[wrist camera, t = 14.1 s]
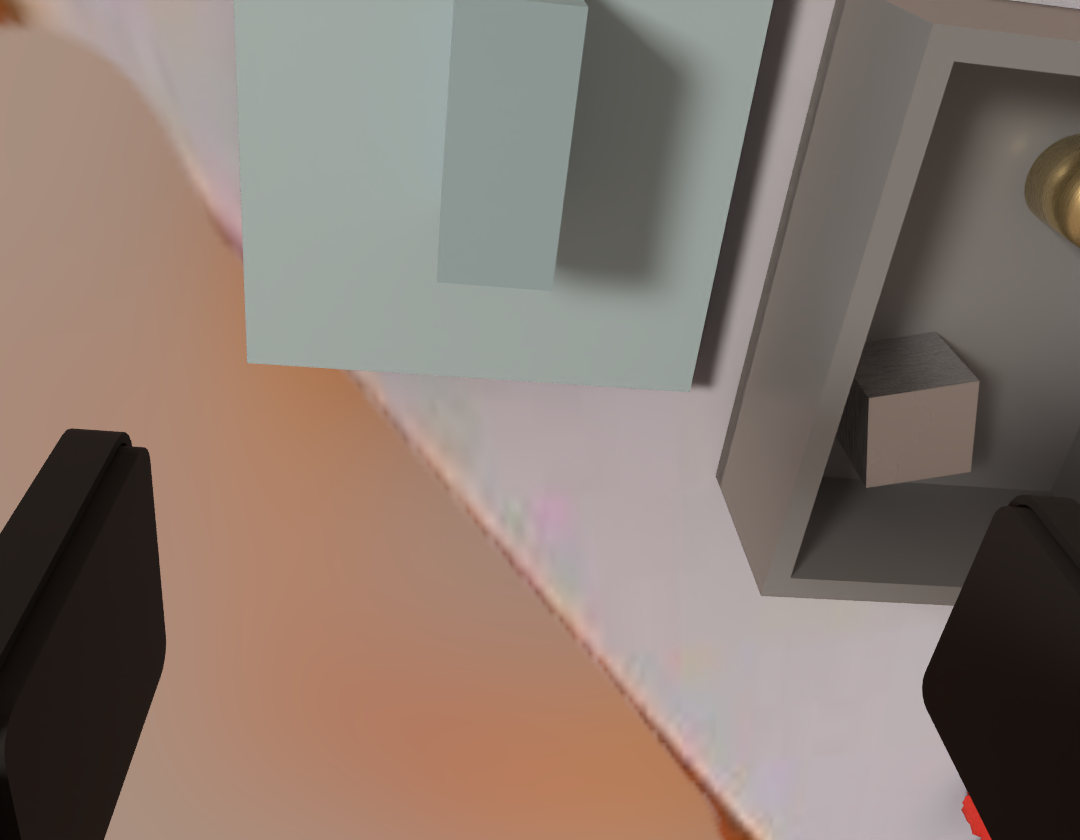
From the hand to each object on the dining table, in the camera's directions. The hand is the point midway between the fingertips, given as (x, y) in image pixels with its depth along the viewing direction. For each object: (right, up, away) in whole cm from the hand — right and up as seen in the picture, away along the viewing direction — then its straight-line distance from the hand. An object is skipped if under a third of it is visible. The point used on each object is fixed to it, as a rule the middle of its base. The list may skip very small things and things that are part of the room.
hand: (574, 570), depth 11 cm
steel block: (+12, +3, +26) cm, 29 cm away
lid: (-2, +12, +20) cm, 24 cm away
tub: (+15, +7, +25) cm, 29 cm away
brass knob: (+17, +10, +22) cm, 30 cm away
